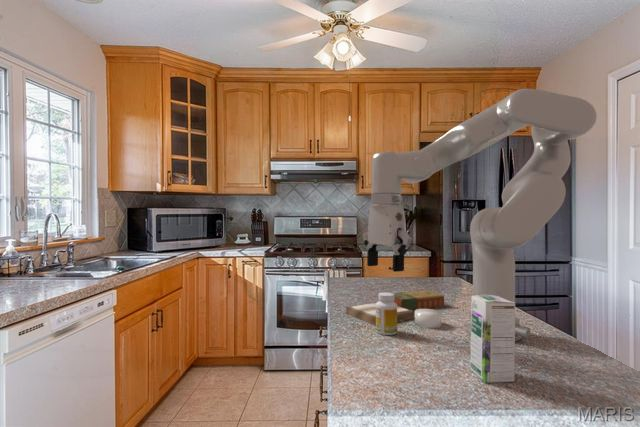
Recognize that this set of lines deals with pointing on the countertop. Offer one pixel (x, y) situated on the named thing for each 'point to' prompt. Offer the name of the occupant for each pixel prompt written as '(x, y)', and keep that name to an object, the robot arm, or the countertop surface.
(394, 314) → the supplement bottle
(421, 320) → the white glossy dome
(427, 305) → the carton
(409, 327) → the countertop surface
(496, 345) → the syrup box
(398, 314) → the tray
